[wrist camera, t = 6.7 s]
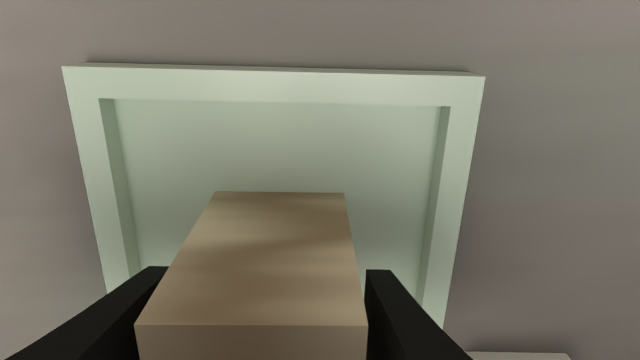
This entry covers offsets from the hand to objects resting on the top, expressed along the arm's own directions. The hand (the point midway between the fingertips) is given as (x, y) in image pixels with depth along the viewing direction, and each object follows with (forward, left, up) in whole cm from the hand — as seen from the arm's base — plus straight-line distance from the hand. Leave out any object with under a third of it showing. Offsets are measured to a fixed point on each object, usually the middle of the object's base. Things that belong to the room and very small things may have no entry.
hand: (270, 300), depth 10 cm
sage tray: (0, 0, -3) cm, 3 cm away
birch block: (0, 0, -3) cm, 3 cm away
